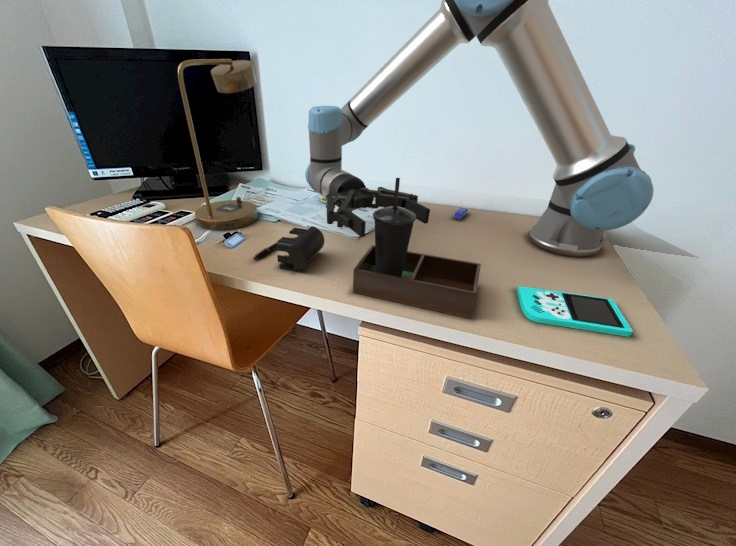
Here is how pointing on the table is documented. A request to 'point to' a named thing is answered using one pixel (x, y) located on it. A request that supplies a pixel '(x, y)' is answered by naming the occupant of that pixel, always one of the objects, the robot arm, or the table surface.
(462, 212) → the eraser
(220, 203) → the lamp
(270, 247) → the fountain pen
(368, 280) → the divided storage box
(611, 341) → the table surface
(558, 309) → the handheld game console
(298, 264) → the end cap
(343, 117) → the robot arm
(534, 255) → the table surface
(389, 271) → the drinking cup
